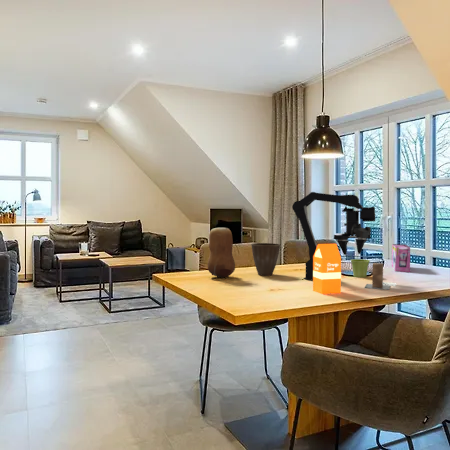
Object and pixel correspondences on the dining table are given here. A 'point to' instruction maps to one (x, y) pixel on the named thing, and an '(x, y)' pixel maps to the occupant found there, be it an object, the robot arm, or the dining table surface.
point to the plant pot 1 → (265, 257)
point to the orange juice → (327, 269)
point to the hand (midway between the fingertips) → (352, 254)
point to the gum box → (401, 257)
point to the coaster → (385, 287)
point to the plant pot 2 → (360, 267)
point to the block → (377, 275)
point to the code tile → (389, 284)
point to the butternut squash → (221, 253)
